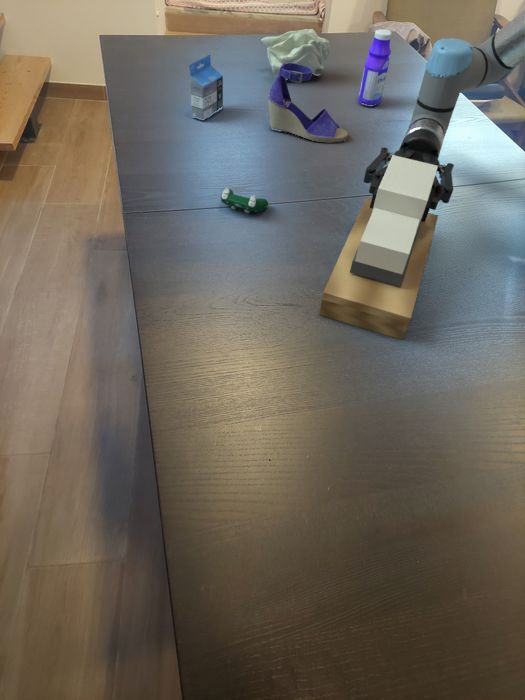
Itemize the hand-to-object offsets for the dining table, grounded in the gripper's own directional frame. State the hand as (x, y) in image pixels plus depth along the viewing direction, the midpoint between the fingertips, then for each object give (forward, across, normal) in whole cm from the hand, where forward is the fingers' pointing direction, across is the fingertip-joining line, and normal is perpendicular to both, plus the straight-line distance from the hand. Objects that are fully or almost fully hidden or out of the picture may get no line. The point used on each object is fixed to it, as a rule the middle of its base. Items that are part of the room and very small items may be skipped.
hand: (399, 207), depth 85 cm
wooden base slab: (+3, 0, -12) cm, 12 cm away
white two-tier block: (+1, 0, -6) cm, 7 cm away
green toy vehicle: (-5, +30, -12) cm, 33 cm away
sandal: (-42, +28, -12) cm, 52 cm away
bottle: (-67, +18, -12) cm, 71 cm away
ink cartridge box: (-40, +54, -12) cm, 68 cm away
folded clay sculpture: (-73, +42, -12) cm, 85 cm away
